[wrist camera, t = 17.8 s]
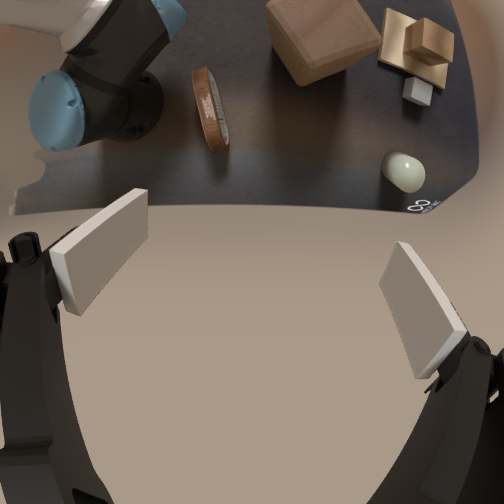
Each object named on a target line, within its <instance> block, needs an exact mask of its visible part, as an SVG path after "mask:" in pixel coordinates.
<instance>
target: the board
mask: <svg viewBox="0 0 504 504" xmlns="http://www.w3.org/2000/svg"><path fill="white" fill-rule="evenodd" d="M415 22H417V21H416V20H414V19H412V18H410V17H407V16H405V15H403V14H401V13H399V12H396V11H394V10H392V9H389V8H386V9H385V10H384V18H383V27H382V34H381V37H382V41H383V45H382V46H381V47H380V48H379V55H378V60H379V61H382V62H384V63H387V64H389V65H392V66H394V67H397V68H399V69H401V70H404V71H406V72H408V73H410V74H412V75H415V76H417V77H419V78H421V79H423V80H425V81H427V82H429V83H431V84H433V85H435V86H436V87H438V88H440V89H445V82H446V75H447V67H448V63H445V64H440V65H435V66H428V65H426V64H424V63H422V62H420V61H418V60H416V59H414V58H412V57H410V56H408V55H405V54H403V45H404V37H405V28H406V27H408V26H409V25H411V24H413V23H415Z"/></svg>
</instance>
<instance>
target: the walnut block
mask: <svg viewBox="0 0 504 504" xmlns="http://www.w3.org/2000/svg"><path fill="white" fill-rule="evenodd" d="M453 46H454V34H453V33H451V32H449V31H448V30H446V29H445V28H443V27H441V26H439V25H438V24H436V23H434V22H432V21H430V20H429V19H427V18H425V17H424V18H422V19H420V20H418V21H417V22H415V23H413V24H411V25H409V26H408V27H406V28H405V37H404V45H403V54H405V55H408V56H410V57H412V58H414V59H416V60H418V61H420V62H422V63H424V64H426V65H428V66H435V65H440V64H445V63H451V62H452V58H453Z"/></svg>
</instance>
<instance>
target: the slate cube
mask: <svg viewBox="0 0 504 504" xmlns="http://www.w3.org/2000/svg"><path fill="white" fill-rule="evenodd" d="M432 89H433V86H432V85H430V84H428V83H426V82H424V81H422V80H420V79H418V78H416V77H412V78H407V79H405V85H404V90H403V95H402V97H403V98H405V99H407V100H409V101H412V102H414V103H416V104H418V105H425V106H430V101H431V95H432Z"/></svg>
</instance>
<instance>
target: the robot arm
mask: <svg viewBox="0 0 504 504" xmlns="http://www.w3.org/2000/svg"><path fill="white" fill-rule="evenodd" d="M186 19H187V17H186V13H185V11H184V10H183V8H182V7H181V6H180V4H179V3H178V2H177V1H176V0H0V25H1V26H8V27H13V28H18V29H23V30H28V31H33V32H36V33H41V34H45V35H48V36H52V37H56V38H57V40H58V43H59V47H60V50H61V52H64V53H67V54H68V56H67V58H66V59H65V61H64V62H63V64H62V66H61V67H60V69H59V70H53V71H51V72H49V73H47V74H46V75H45V76H42V77H41V78H40V79H39V80H38V82H37V83H36V85H35V86H34V88H33V91H32V93H31V97H30V101H29V110H28V117H29V121H30V128H31V131H32V133H33V136H34V138H35V140H36V141H37V142H38V144H39V145H40V146H41V147H43V148H44V149H46V150H48V151H52V152H58V151H62V150H69V149H70V150H71V149H74V148H76V147H79V146H82V145H85V144H88V143H91V142H94V141H97V140H101V139H104V138H107V139H110V140H114V141H118V142H127V141H131V140H135V139H138V138H140V137H142V136H144V135H145V134H147V133H148V132H149V131H150V130H151V129H152V128H153V127H154V126H155V124H156V123H157V121H158V119H159V117H160V115H161V112H162V108H163V91H162V88H161V85H160V83H159V81H158V80H157V78H156V77H155V76H154V75H153V74H152V73H150V72H148V71H146V68H147V67H148V66H149V65H150V63H151V62H152V61H153V60H154V59H155V58H156V56H157V55H158V54H159V53H160V52H161V51H162V50H163V48H164V47H165V46H166V45H167V44H170V43H171V42H172V40H173V38H174V37H175V36H176V34H177V33H178V32H179V31H180V30H181V29H182V28H183V27H184V25H185V24H186ZM147 208H148V190H144V189H137V188H135V189H133V190H132V191H130V192H128V193H127V194H125V195H124V196H122V197H121V198H119V199H118V200H116V201H115V202H113V203H112V204H110V205H109V206H107V207H106V208H104V209H103V210H101V211H100V212H99V213H97V214H96V215H94V216H93V217H91V218H90V219H89V220H88V221H86V222H85V223H83V224H82V225H79V226H77V227H75V228H73V229H71V230H70V231H69V232H67V233H66V234H65V235H63V236H62V237H61V238H60V239H59V240H57V241H56V242H54V243H53V244H52V245H51V246H49V247H48V248H47V249H46V250H44V251H43V252H42V251H41V246H40V242H39V237H38V234H37V233H35V232H24V233H21V234H19V235H17V236H15V237H13V238H12V239H11V240H10V242H9V243H8V246H9V249H10V253H11V257H12V260H13V263H10V262H6V260H5V257H4V254H3V252H2V251H0V404H1V416H2V425H3V432H4V439H5V445H4V448H2V449H0V483H1V486H2V490H3V493H4V497H5V500H6V503H7V504H114V502H113V500H112V498H111V496H110V495H109V492H108V491H107V489H106V487H105V485H104V484H103V482H102V481H101V479H100V478H99V477H98V475H97V474H96V472H95V470H94V468H93V465H92V463H91V460H90V458H89V455H88V452H87V449H86V446H85V443H84V440H83V437H82V434H81V430H80V427H79V424H78V420H77V417H76V413H75V409H74V405H73V401H72V396H71V392H70V387H69V382H68V377H67V372H66V365H65V359H64V352H63V344H62V335H61V326H60V312H59V309H58V306H57V305H58V304H59V303H60V301H61V300H63V303H64V306H65V309H66V311H68V312H70V313H73V314H75V315H78V316H81V315H82V314H83V313H84V311H85V310H86V309H87V308H88V306H89V305H90V304H91V302H92V301H93V300H94V299H95V298H96V296H97V295H98V294H99V293H100V291H101V290H102V289H103V287H105V285H106V284H107V283H108V282H109V280H110V279H111V278H112V277H113V276H114V275H115V273H116V272H117V271H118V270H119V269H120V268H121V267H122V265H123V264H124V263H125V262H126V261H127V260H128V259H129V258H130V256H131V255H132V254H133V253H134V252H135V251H136V250H137V249H138V248H139V246H140V245H141V244H142V243H143V242H144V241H145V240H146V239H147V238H148V221H147V218H148V217H147V214H148V211H147V210H148V209H147ZM379 285H380V287H381V290H382V292H383V294H384V297H385V299H386V301H387V304H388V306H389V309H390V311H391V313H392V316H393V318H394V321H395V323H396V326H397V329H398V331H399V334H400V337H401V339H402V342H403V344H404V347H405V350H406V353H407V356H408V359H409V362H410V365H411V368H412V371H413V374H414V377H415V379H429V378H430V377H431V375H432V374H433V373H434V372H435V371H436V370H438V373H439V377H438V378H437V379H436V380H435V381H434V382H433V383H432V384H431V385H430V386H429V387H428V388H427V389H426V390H425V392H424V393H427V392H428V391H430V390H431V391H430V394H429V397H428V399H427V401H426V403H425V406H424V408H423V410H422V412H421V414H420V416H419V419H418V421H417V423H416V425H415V427H414V429H413V431H412V433H411V435H410V437H409V439H408V440H407V442H406V444H405V446H404V448H403V450H402V451H401V453H400V455H399V456H398V458H397V460H396V461H395V463H394V465H393V466H392V468H391V470H390V471H389V473H388V474H387V476H386V477H385V479H384V480H383V482H382V483H381V485H380V486H379V488H378V489H377V490H376V492H375V493H374V494H373V496H372V497H371V499H370V500H369V501H368V502H367V504H504V348H503V349H502V350H501V351H500V353H499V354H498V355H497V356H495V355H493V354H491V351H490V348H489V346H488V345H487V344H486V343H485V342H484V341H483V340H482V339H481V338H479V337H476V336H473V337H471V335H470V334H469V332H468V330H467V328H466V326H465V325H464V323H463V321H462V320H461V318H459V315H458V313H457V312H456V310H455V308H454V306H453V305H452V303H451V302H450V301H449V300H448V298H447V297H446V295H445V294H444V292H443V291H442V290H441V288H440V286H439V285H438V283H437V282H436V280H435V279H434V277H433V276H432V275H431V273H430V272H429V270H428V269H427V268H426V266H425V265H424V263H423V262H422V261H421V259H420V258H419V257H418V255H417V254H416V253H415V251H414V250H413V249H412V247H411V246H410V245H409V244H407V243H403V242H399V241H397V244H396V247H395V249H394V251H393V253H392V256H391V258H390V260H389V263H388V265H387V267H386V269H385V271H384V274H383V276H382V278H381V280H380V282H379ZM498 390H499V395H498V397H497V398H496V399H495V400H494V401H492V402H491V403H490V397H492V396H493V395H494V394H495V393H496V392H497V391H498Z"/></svg>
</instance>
